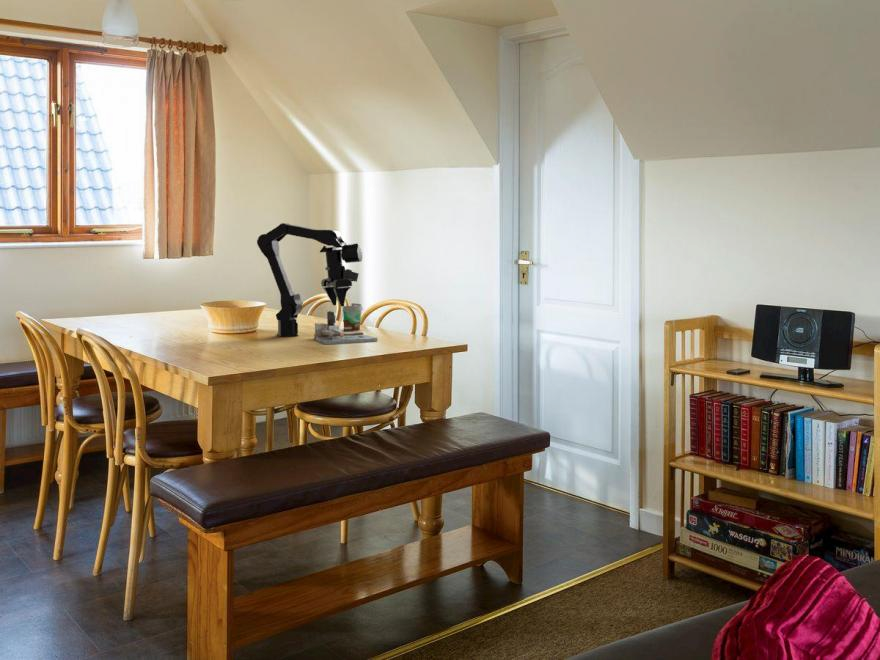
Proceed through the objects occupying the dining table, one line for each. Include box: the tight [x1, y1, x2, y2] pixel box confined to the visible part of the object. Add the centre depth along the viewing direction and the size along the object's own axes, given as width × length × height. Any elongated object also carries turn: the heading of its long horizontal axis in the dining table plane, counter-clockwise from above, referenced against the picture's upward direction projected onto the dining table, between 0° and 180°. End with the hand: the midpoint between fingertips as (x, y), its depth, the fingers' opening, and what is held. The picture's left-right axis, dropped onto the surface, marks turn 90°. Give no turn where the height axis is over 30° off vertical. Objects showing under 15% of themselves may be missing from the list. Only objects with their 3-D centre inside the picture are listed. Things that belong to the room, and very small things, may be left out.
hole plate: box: [315, 334, 378, 345], centre depth 330 cm, size 20×10×1 cm, turn 118°
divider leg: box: [326, 310, 345, 337], centre depth 334 cm, size 4×13×8 cm, turn 28°
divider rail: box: [313, 322, 364, 339], centre depth 335 cm, size 18×13×6 cm
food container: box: [342, 303, 364, 332], centre depth 361 cm, size 12×6×10 cm, turn 168°
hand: (338, 305), depth 337 cm, fingers open, 9 cm apart
